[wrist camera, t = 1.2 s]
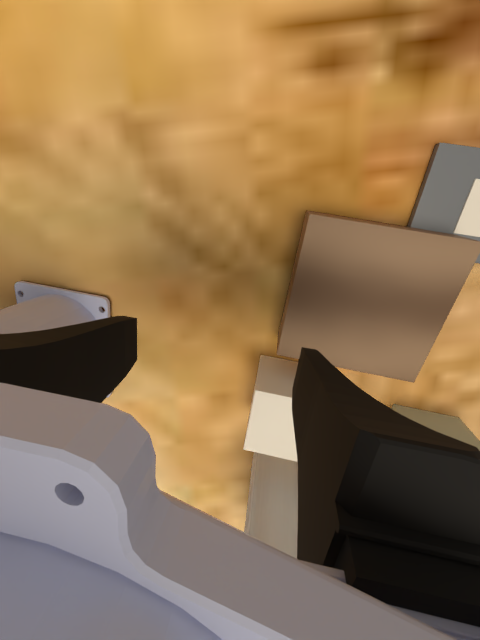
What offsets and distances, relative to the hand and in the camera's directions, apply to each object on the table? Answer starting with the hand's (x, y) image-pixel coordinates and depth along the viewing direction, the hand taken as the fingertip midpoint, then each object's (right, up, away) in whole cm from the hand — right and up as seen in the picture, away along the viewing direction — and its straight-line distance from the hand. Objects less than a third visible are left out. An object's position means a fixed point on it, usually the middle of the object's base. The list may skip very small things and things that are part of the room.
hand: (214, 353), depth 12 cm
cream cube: (+5, -4, +11) cm, 13 cm away
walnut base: (+9, +3, +7) cm, 12 cm away
